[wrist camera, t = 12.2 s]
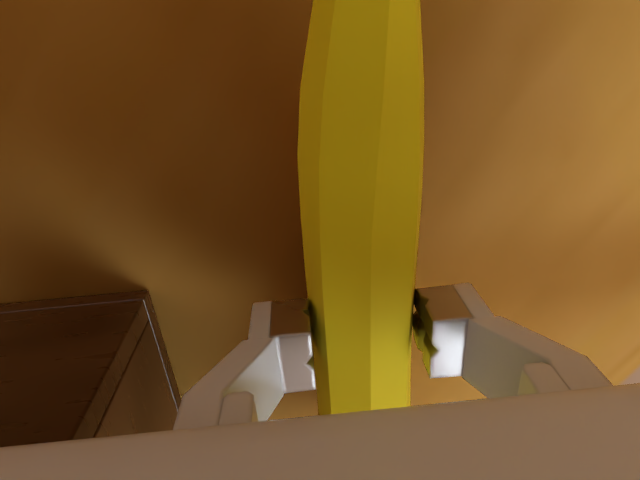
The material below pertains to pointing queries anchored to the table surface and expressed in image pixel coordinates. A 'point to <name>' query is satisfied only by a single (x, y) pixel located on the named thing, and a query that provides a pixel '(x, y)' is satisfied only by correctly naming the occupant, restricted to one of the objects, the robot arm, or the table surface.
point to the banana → (361, 197)
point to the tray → (83, 369)
